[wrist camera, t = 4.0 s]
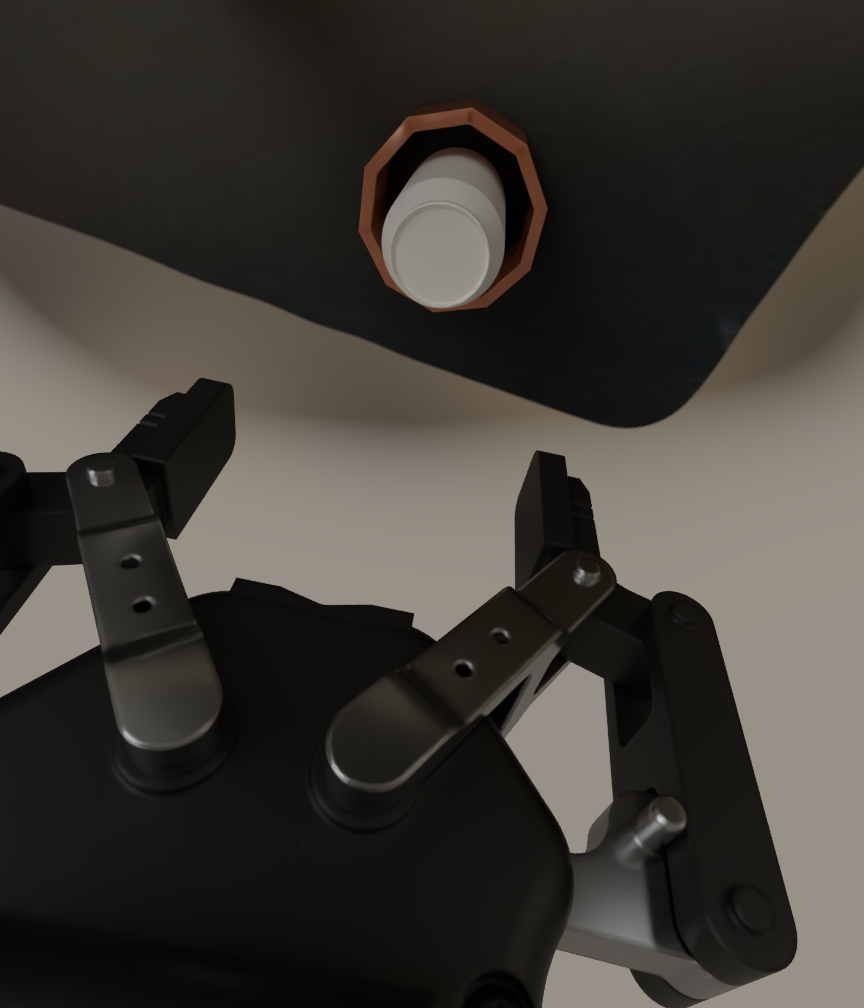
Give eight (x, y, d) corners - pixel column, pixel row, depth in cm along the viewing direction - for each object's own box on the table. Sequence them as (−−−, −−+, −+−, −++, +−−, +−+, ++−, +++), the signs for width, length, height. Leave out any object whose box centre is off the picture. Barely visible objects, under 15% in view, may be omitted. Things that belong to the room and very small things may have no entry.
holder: (367, 269, 40) (352, 294, 36) (387, 77, 33) (371, 83, 29) (513, 301, 40) (513, 330, 37) (563, 118, 33) (570, 130, 30)
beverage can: (520, 163, 35) (524, 211, 26) (486, 264, 39) (479, 336, 30) (423, 129, 34) (391, 165, 25) (398, 234, 38) (363, 299, 29)
